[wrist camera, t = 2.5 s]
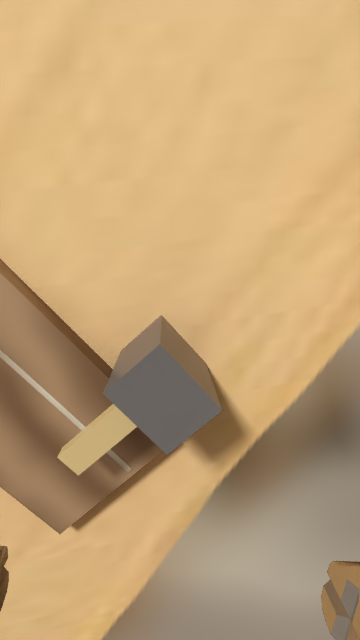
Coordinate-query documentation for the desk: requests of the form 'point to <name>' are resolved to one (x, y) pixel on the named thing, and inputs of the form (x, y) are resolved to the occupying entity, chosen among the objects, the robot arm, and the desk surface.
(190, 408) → the gray-headed mallet
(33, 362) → the plank
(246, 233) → the desk surface
